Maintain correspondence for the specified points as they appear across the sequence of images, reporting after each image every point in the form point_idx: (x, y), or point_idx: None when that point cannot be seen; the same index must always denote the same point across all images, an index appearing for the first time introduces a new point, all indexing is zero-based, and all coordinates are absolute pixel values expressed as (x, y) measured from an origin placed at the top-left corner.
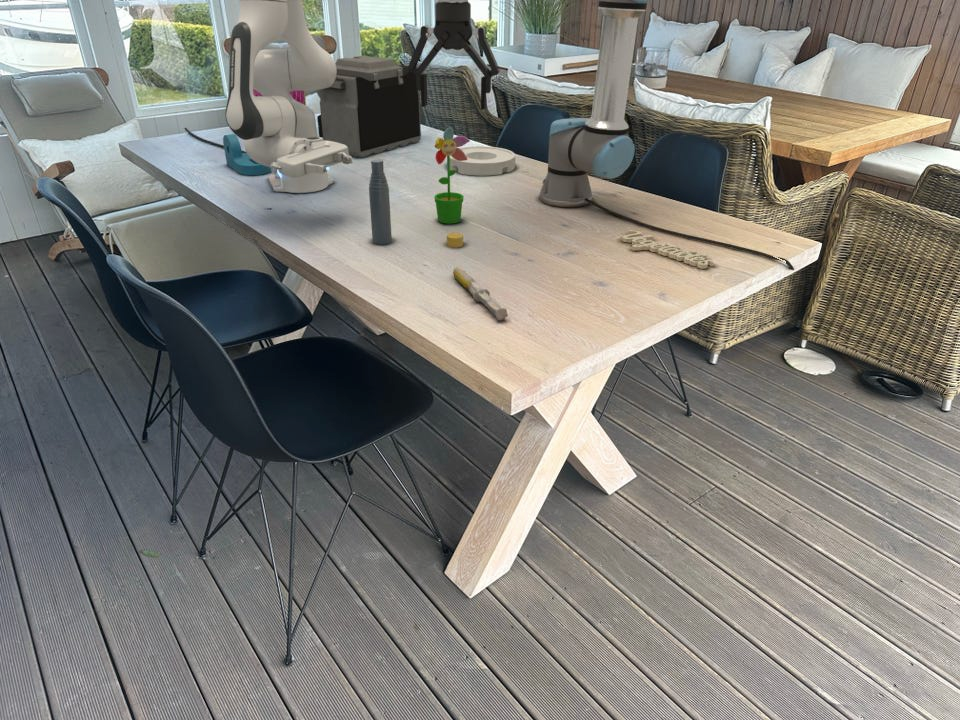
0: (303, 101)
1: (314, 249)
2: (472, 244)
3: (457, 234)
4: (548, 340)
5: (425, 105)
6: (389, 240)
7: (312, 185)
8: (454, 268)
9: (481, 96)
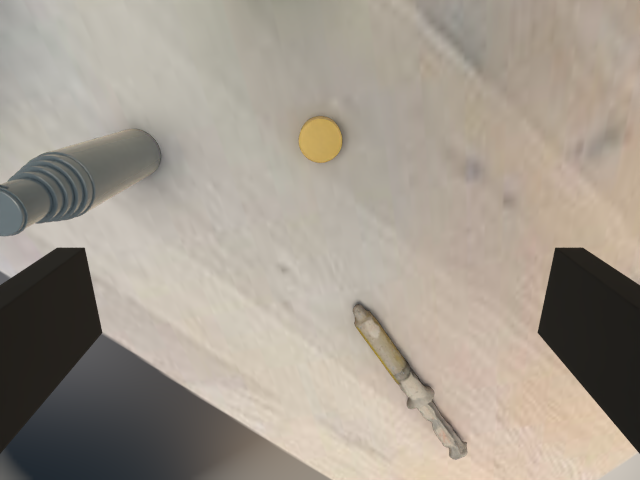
0: None
1: None
2: (363, 125)
3: (325, 133)
4: (522, 474)
5: (93, 308)
6: (157, 163)
7: None
8: (355, 314)
9: (597, 398)
